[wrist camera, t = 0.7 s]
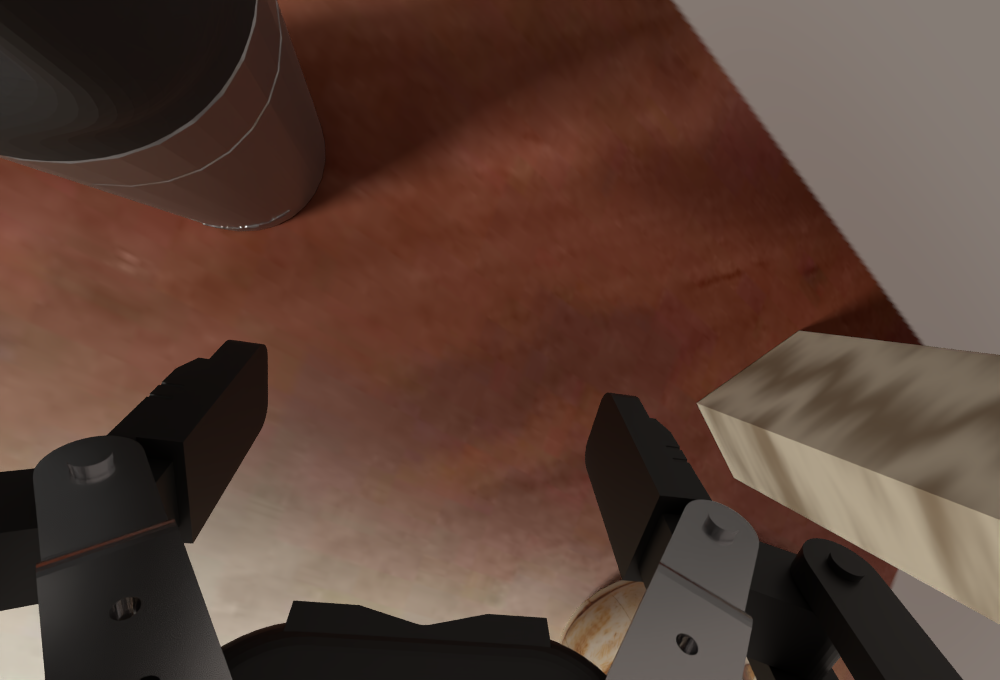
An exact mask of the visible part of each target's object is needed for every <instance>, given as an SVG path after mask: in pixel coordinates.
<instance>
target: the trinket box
mask: <svg viewBox="0 0 1000 680" xmlns="http://www.w3.org/2000/svg"><path fill="white" fill-rule="evenodd" d="M645 591H646V588H645V586H644V583H643V582H637V581H624V580H621V581H618V582H616V583H613V584H611V585H609V586H607V587H606V588H604V589H602V590H600V591H598V592H597V593H595V594H594V595H593V596H592V597H590V598H589V599H588V600H586V601H585V602H584V603H582V604H581V605H580V606H579V607H578V608H577V610H576V611H575V612H574V614H573V615H572V616H571V618H570V619H569V621H568V623H567V625H566V627H565V628H564V631H563V633H562V636H561V639H560V644H562V645H564V646H566V647H568V648H570V649H572V650H574V651H576V652H577V653H579V654H580V655H582V656H584V657H585V658H587V659H588V660H589V661H590V662H592V663H593V664H594V665H596V666H597V667H598V668H599V669H600V670H601V671H603V672H604V673H605V674H606V675H607V673H608V670H609V668H610V666H611V664H612V662H613V660H614V658H615V656H616V653H617V651H618V649H619V647H620V645H621V643H622V640H623V638H624V636H625V634H626V632H627V630H628V628H629V625H630V623H631V621H632V619H633V617H634V615H635V613H636V610H637V608H638V606H639V604H640V602H641V600H642V598H643V596H644V593H645ZM742 680H757V679H756V677H755V675H754V673H753V670H752V668H751V666H750V664H749V661H748V659H747V657H746V660H745V666H744V671H743V676H742Z"/></svg>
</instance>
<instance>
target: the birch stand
mask: <svg viewBox="0 0 1000 680" xmlns="http://www.w3.org/2000/svg"><path fill="white" fill-rule="evenodd" d="M697 405H698V407H699V409H700V411H701V413H702V415H703V417H704V419H705V421H706V423H707V425H708V427H709V429H710V431H711V433H712V435H713V437H714V439H715V441H716V443H717V445H718V447H719V449H720V451H721V453H722V455H723V457H724V459H725V461H726V463H727V465H728V467H729V469H730V471H731V473H732V475H733V477H734V478H735V479H737V480H739V481H741V482H743V483H744V484H746V485H748V486H750V487H752V488H754V489H755V490H757V491H759V492H761V493H763V494H764V495H766V496H768V497H770V498H772V499H773V500H775V501H777V502H779V503H781V504H782V505H784V506H786V507H788V508H790V509H792V510H793V511H795V512H797V513H799V514H801V515H802V516H804V517H806V518H808V519H810V520H811V521H813V522H815V523H817V524H819V525H820V526H822V527H824V528H826V529H828V530H830V531H831V532H833V533H835V534H837V535H839V536H840V537H842V538H844V539H846V540H848V541H849V542H851V543H853V544H855V545H857V546H858V547H860V548H862V549H864V550H866V551H868V552H869V553H871V554H873V555H875V556H877V557H878V558H880V559H882V560H884V561H886V562H887V563H889V564H891V565H893V566H895V567H897V568H898V569H900V570H902V571H904V572H906V573H907V574H909V575H911V576H913V577H915V578H917V579H918V580H920V581H922V582H924V583H926V584H927V585H929V586H931V587H933V588H935V589H936V590H938V591H940V592H942V593H944V594H945V595H947V596H949V597H951V598H953V599H955V600H956V601H958V602H960V603H962V604H963V605H965V606H967V607H969V608H971V609H973V610H974V611H976V612H978V613H980V614H982V615H984V616H985V617H987V618H989V619H991V620H992V621H994V622H996V623H998V624H1000V355H995V354H987V353H979V352H971V351H962V350H954V349H946V348H938V347H930V346H921V345H913V344H905V343H897V342H888V341H880V340H872V339H864V338H856V337H847V336H839V335H831V334H823V333H814V332H806V331H798V332H797V333H795V334H794V335H792V336H791V337H790V338H788V339H787V340H785V341H784V342H783V343H781V344H780V345H778V346H777V347H775V348H774V349H773V350H771V351H770V352H768V353H767V354H766V355H764V356H763V357H761V358H760V359H758V360H757V361H756V362H754V363H753V364H751V365H750V366H749V367H747V368H746V369H744V370H743V371H741V372H740V373H739V374H737V375H736V376H734V377H733V378H732V379H730V380H729V381H727V382H726V383H724V384H723V385H722V386H720V387H719V388H717V389H716V390H715V391H713V392H712V393H710V394H709V395H708V396H706V397H705V398H703V399H702V400H700V401H699V402H698V403H697Z"/></svg>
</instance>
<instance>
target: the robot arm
mask: <svg viewBox="0 0 1000 680" xmlns="http://www.w3.org/2000/svg"><path fill="white" fill-rule="evenodd" d="M0 158H3V159H6V160H9V161H13V162H16V163H19V164H22V165H25V166H28V167H31V168H34V169H37V170H40V171H43V172H46V173H49V174H53V175H57V176H60V177H63V178H66V179H69V180H72V181H75V182H78V183H81V184H84V185H87V186H90V187H93V188H96V189H100V190H103V191H106V192H109V193H112V194H115V195H118V196H121V197H124V198H127V199H130V200H133V201H136V202H139V203H142V204H146V205H149V206H152V207H155V208H158V209H161V210H164V211H167V212H170V213H173V214H176V215H179V216H182V217H185V218H188V219H192V220H195V221H198V222H201V223H202V224H204V225H207V226H212V227H216V228H220V229H227V230H234V231H254V230H261V229H265V228H269V227H273V226H276V225H278V224H280V223H282V222H284V221H286V220H288V219H290V218H292V217H293V216H294V215H295V214H297V213H298V212H299V211H300V210H301V209H303V208H304V207H305V206H306V204H307V203H308V202H309V200H310V199H311V198H312V197H313V195H314V194H315V192H316V190H317V188H318V185H319V183H320V181H321V179H322V175H323V170H324V165H325V141H324V137H323V133H322V129H321V125H320V122H319V119H318V116H317V113H316V110H315V108H314V104H313V101H312V98H311V95H310V92H309V90H308V87H307V84H306V81H305V78H304V75H303V73H302V70H301V67H300V64H299V61H298V58H297V56H296V53H295V50H294V47H293V44H292V42H291V39H290V36H289V33H288V30H287V27H286V25H285V22H284V19H283V16H282V13H281V10H280V8H279V5H278V2H277V0H0ZM267 407H268V355H267V348H266V346H265V345H264V344H257V343H250V342H243V341H235V340H227V341H226V342H225V343H224V344H223V345H222V346H221V347H220V348H219V349H218V350H217V351H216V352H215V353H214V354H213V356H212V357H211V358H210V359H204V358H197V359H195V360H193V361H191V362H189V363H186V364H184V365H182V366H180V367H178V368H176V369H175V370H174V371H173V372H172V373H171V374H170V375H169V376H168V377H167V378H166V379H165V380H164V381H162V384H161V385H158V386H157V387H156V388H155V389H154V390H153V391H152V392H151V393H150V396H149V397H146V398H145V399H144V400H143V401H142V402H141V403H140V404H139V405H138V406H137V407H136V408H135V409H134V410H132V411H131V412H130V413H129V414H128V415H127V416H126V417H125V418H124V419H123V420H122V421H121V422H120V423H119V424H118V425H117V426H116V427H115V428H114V429H113V430H112V431H111V432H110V433H109V434H108V435H107V436H96V437H90V438H85V439H81V440H77V441H74V442H71V443H69V444H66V445H64V446H62V447H59V448H58V449H56V450H54V451H52V452H51V453H49V454H48V455H47V456H45V457H44V458H43V459H42V460H41V461H40V462H39V463H38V464H37V466H36V467H35V468H34V469H26V470H16V471H6V472H0V611H3V610H8V609H13V608H19V607H24V606H29V605H35V604H39V614H40V625H41V637H42V648H43V659H44V671H45V680H742V676H743V671H744V666H745V660H746V657H747V659H748V661H749V664H750V666H751V668H752V670H753V673H754V675H755V677H756V679H757V680H839V679H838V678H837V676H836V674H835V673H834V671H833V669H832V667H833V665H834V664H835V663H836V661H837V660H838V659H839V658H840V656H841V658H842V660H843V661H844V663H845V664H846V666H847V668H848V669H849V671H850V673H851V674H852V676H853V678H854V679H855V680H963V679H962V678H961V677H960V675H959V674H958V673H957V672H956V670H955V669H954V668H953V667H952V665H951V664H950V663H949V662H948V660H947V659H946V658H945V657H944V655H943V654H942V653H941V652H940V650H939V649H938V648H937V647H936V645H935V644H934V643H933V642H932V640H931V639H930V638H929V637H928V635H927V634H926V633H925V632H924V630H923V629H922V628H921V627H920V625H919V624H918V623H917V622H916V620H915V619H914V618H913V617H912V615H911V614H910V613H909V612H908V610H907V609H906V608H905V607H904V605H903V604H902V603H901V602H900V600H899V599H898V598H897V596H896V595H895V594H894V593H893V591H892V590H891V589H890V588H889V586H888V585H887V584H886V583H885V581H884V580H883V579H882V578H881V576H880V575H879V574H878V573H877V572H876V571H875V569H874V568H873V567H872V566H871V565H870V564H869V563H867V562H866V561H865V560H864V559H863V558H861V557H860V556H859V555H857V554H856V553H854V552H853V551H851V550H849V549H848V548H846V547H844V546H842V545H840V544H837V543H835V542H832V541H829V540H825V539H818V538H814V539H810V540H807V541H806V542H805V543H804V545H803V546H802V548H801V549H800V551H799V552H798V554H794V553H791V552H788V551H785V550H782V549H779V548H777V547H774V546H771V545H768V544H765V543H762V542H760V541H759V540H758V536H757V534H756V532H755V531H754V529H753V527H752V526H751V525H750V524H749V523H748V522H747V521H746V520H745V519H744V518H743V517H742V516H741V515H739V514H738V513H737V512H735V511H734V510H732V509H730V508H729V507H727V506H725V505H722V504H720V503H717V502H714V501H712V500H711V498H710V497H709V495H708V493H707V492H706V490H705V488H704V487H703V485H702V483H701V482H700V480H699V479H698V477H697V475H696V474H695V472H694V470H693V469H692V467H691V465H690V464H689V463H687V459H686V457H685V455H684V454H683V452H682V450H680V447H679V445H678V444H677V442H676V440H675V439H674V437H673V435H672V434H671V432H670V431H668V430H667V429H666V428H665V427H664V426H663V425H662V424H661V423H659V422H658V421H657V420H656V419H653V418H649V416H648V414H647V412H646V410H645V409H644V407H643V405H642V403H641V402H640V400H639V398H638V397H636V396H629V395H622V394H615V393H606V394H605V395H604V396H603V398H602V400H601V403H600V406H599V409H598V412H597V415H596V418H595V421H594V424H593V427H592V430H591V433H590V435H589V438H588V442H587V445H586V452H585V463H586V468H587V471H588V475H589V478H590V481H591V484H592V487H593V490H594V493H595V496H596V499H597V502H598V506H599V509H600V512H601V515H602V518H603V521H604V524H605V527H606V530H607V533H608V537H609V540H610V543H611V546H612V549H613V552H614V555H615V558H616V561H617V564H618V568H619V571H620V574H621V577H622V580H624V581H637V582H643V583H644V586H645V588H646V591H645V593H644V596H643V598H642V600H641V602H640V604H639V606H638V608H637V610H636V613H635V615H634V617H633V619H632V621H631V623H630V625H629V628H628V630H627V632H626V634H625V636H624V638H623V640H622V643H621V645H620V647H619V649H618V651H617V653H616V656H615V658H614V660H613V662H612V664H611V666H610V668H609V670H608V673H607V675H606V674H605V673H604V672H603V671H601V670H600V669H599V668H598V667H597V666H596V665H594V664H593V663H592V662H590V661H589V660H588V659H587V658H585V657H584V656H582V655H580V654H579V653H577V652H576V651H574V650H572V649H570V648H568V647H566V646H564V645H562V644H560V643H558V642H555V641H552V640H550V636H549V630H548V624H547V618H538V617H524V616H509V615H495V614H485V615H480V616H475V617H469V618H464V619H459V620H453V621H448V622H443V623H437V624H432V625H419V624H415V623H412V622H409V621H406V620H403V619H400V618H397V617H394V616H391V615H388V614H385V613H382V612H379V611H375V610H372V609H369V608H366V607H363V606H360V605H349V604H335V603H320V602H306V601H293V604H292V607H291V610H290V613H289V616H288V619H287V622H286V623H282V624H277V625H273V626H269V627H266V628H262V629H259V630H256V631H253V632H251V633H249V634H246V635H244V636H241V637H239V638H237V639H235V640H233V641H231V642H229V643H227V644H225V645H223V646H222V647H221V646H220V643H219V641H218V638H217V635H216V632H215V629H214V627H213V624H212V621H211V618H210V615H209V613H208V610H207V607H206V604H205V602H204V599H203V596H202V593H201V590H200V588H199V585H198V582H197V579H196V576H195V574H194V571H193V568H192V565H191V562H190V560H189V557H188V554H187V551H186V548H185V546H184V543H194V541H195V539H196V538H197V536H198V534H199V533H200V531H201V529H202V528H203V526H204V524H205V523H206V521H207V519H208V518H209V516H210V514H211V513H212V511H213V509H214V508H215V506H216V504H217V503H218V501H219V499H220V498H221V496H222V494H223V493H224V491H225V489H226V487H227V486H228V484H229V482H230V481H231V479H232V477H233V476H234V474H235V472H236V471H237V469H238V467H239V466H240V464H241V462H242V461H243V459H244V457H245V456H246V454H247V452H248V451H249V449H250V447H251V446H252V444H253V442H254V441H255V439H256V437H257V436H258V434H259V432H260V431H261V429H262V426H263V424H264V421H265V418H266V413H267Z"/></svg>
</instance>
